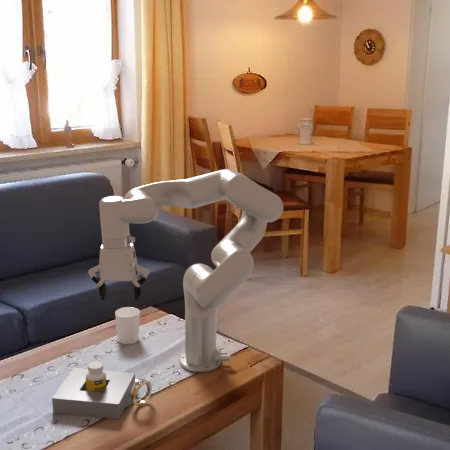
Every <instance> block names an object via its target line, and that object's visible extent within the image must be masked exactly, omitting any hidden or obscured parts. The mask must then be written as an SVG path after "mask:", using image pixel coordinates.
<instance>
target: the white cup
mask: <svg viewBox="0 0 450 450" xmlns="http://www.w3.org/2000/svg"><path fill="white" fill-rule="evenodd" d="M114 316H115V324H116V325H115V328H116V335H117V341H118V343H120V344H123V345H132V344H135V343H137V342H138V341H139V337H140V336H139V334H140V317H141V316H140V309H139V308H136V307H132V306H125V307H120V308H118V309H116V311H115V313H114Z"/></svg>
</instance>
